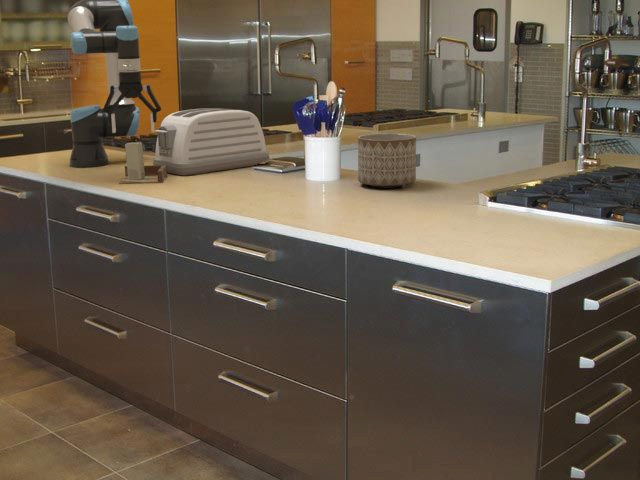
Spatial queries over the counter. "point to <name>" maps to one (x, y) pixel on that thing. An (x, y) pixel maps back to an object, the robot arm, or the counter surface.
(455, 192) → the counter surface
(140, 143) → the box
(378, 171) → the planter
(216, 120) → the toaster
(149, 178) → the arena
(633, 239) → the counter surface
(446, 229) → the counter surface
